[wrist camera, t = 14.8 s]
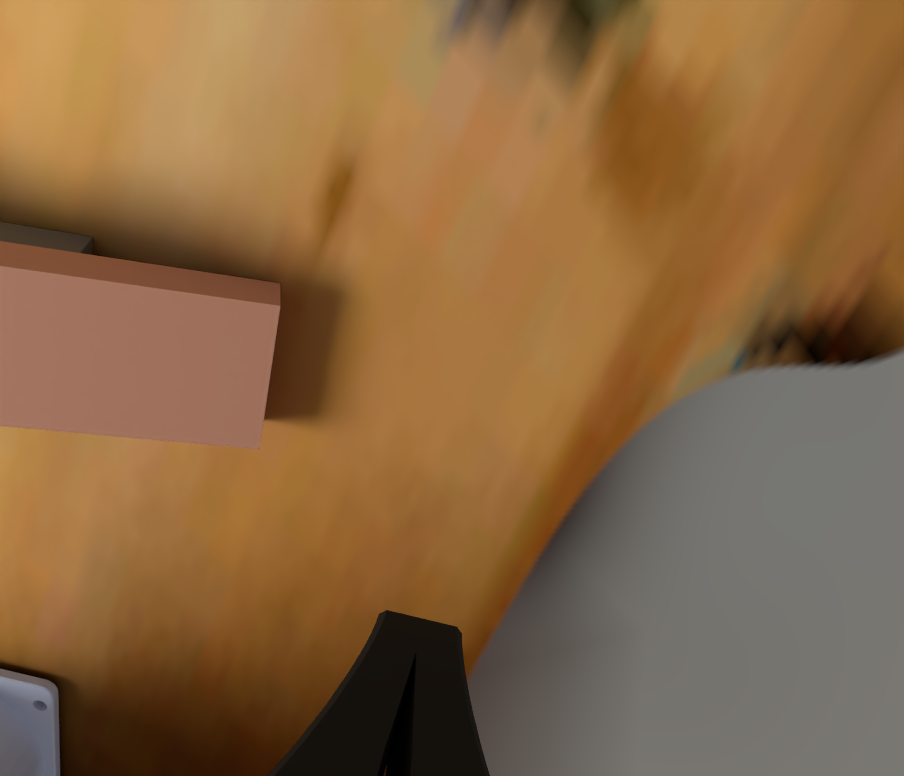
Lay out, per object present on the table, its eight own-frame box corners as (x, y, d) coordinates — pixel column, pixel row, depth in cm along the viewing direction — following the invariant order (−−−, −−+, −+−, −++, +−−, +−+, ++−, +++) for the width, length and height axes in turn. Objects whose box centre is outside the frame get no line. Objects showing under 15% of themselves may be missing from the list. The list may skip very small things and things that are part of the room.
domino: (259, 449, 21) (-66, 420, 19) (260, 420, 23) (-43, 389, 21) (280, 306, 20) (-79, 254, 17) (280, 283, 21) (-52, 233, 19)
